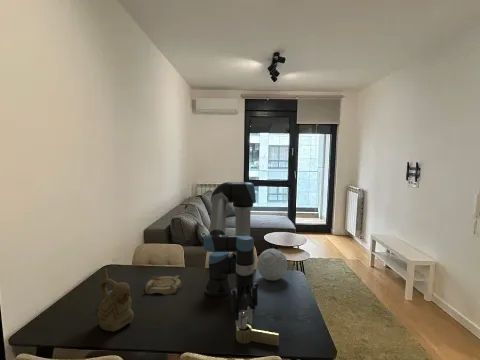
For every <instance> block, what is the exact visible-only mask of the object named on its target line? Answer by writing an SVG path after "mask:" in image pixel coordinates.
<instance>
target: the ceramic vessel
mask: <svg viewBox="0 0 480 360" xmlns="http://www.w3.org/2000/svg"><path fill="white" fill-rule="evenodd" d="M99 274H100V276H101V277H100V278H101V280H100V283H99V284H100V285H99V289H100V292H101V294H102V296H103V298H104V300H102V301H101V302H100V304H99V306H98V309H97V316H96V317H97V318H98V326H99V327H100V329H102V330H103V331H106V332H112V333H113V332H116V331H119V330H121V329H122V328H123V327H125V326H127V325H128V324H130V323H131V322H132V321H133V320H134V317H135V314H134V311H133V310H132V309H131V307H132V304H133V303H132V297H131V293H130V287H131V286H130V285H129V283H127V282H125V281H121V282H120V281H119V282H117V281H115V280H113V279H112V278H109V276H108V270H107V268H105V269H101V270H100V271H99ZM107 285H109V286H110V287H111V288H112V289H111V290H112V292H111V293H109V290H108V288H107Z"/></svg>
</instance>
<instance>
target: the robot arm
mask: <svg viewBox="0 0 480 360" xmlns="http://www.w3.org/2000/svg"><path fill="white" fill-rule="evenodd" d="M255 190H256V188H255V185H254V183H253V182H246V181H240V182H239V181H237V182H236V181H231V182H230V181H226V182H223V183H220V184H219V185H218V186H217V187H215V189H213V191H212V194H211V195H210V204H211V212H210V222H209V232H208V233H209V234H206V235H204V237H203V250H204V251H205V252H207V253H210V254H209V256H208V279H207V281H206V286H205V293H206V295H208V296H210V297H213V298H214V297H216V298H220V297H226V296H228V295H230V304H229V305H230V309H229V311H230V312H231V313H232V314H234V320H235V326H236V327H238V328H241V313H240V312H239V311H240V310H241V307H242V302H243V299H244V296H246V299H247V303H248V306H247V308H246V309H247V310H246V311H247V313H248V315H247V323H249V325H252V324H253V316H254V314H255V313H254V311H255V310H256V307H257V306H258V300H259V299H258V297H259V296H258V289H259V284H258V283H257V282H254V269H255V262H256V261H255V259H256V256H255V255H256V254H255V252H254V249H255V242H254V241H255V239H254V238H253V237H252V236H251V209H252V208H253V207H254V204H255V203H257V198H256V197H257V196H256V191H255ZM229 203H230V204H232V207H234V209H235V215H234V216H235V220H234V221H235V225H234V226H235V227H234V228H235V229H234V234H235V235H232V234H231V235H228V234H227V235H226V219H227V218H226V217H227V205H228V204H229ZM229 275H235V283H236V284H235V287H234V288H232V285H231V282H230V280H229V279H230V278H229Z"/></svg>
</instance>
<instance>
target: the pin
mask: <svg viewBox="0 0 480 360" xmlns="http://www.w3.org/2000/svg"><path fill="white" fill-rule="evenodd" d="M239 312H240V313H241V328H240V330H241V331H247V324H248V321H247V318H246V317H247V315H248V313H247V310H246V309H240V311H239Z"/></svg>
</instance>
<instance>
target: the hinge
mask: <svg viewBox="0 0 480 360" xmlns="http://www.w3.org/2000/svg"><path fill="white" fill-rule="evenodd" d="M246 318H247V317H246ZM235 340H236V342H238V343H239V344H244V345H245V344H249V343H251V342H255V343H261V344H266V345H271V346H276V347H279V333H278V332H272V331H271V332H270V331H267V330H266V331H265V330H259V329H255V328H254V329H253V328H252V326H251V324H250V323H249V324H248V323H247V331H241V330H240V328H238V327H237V326H236V329H235Z"/></svg>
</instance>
